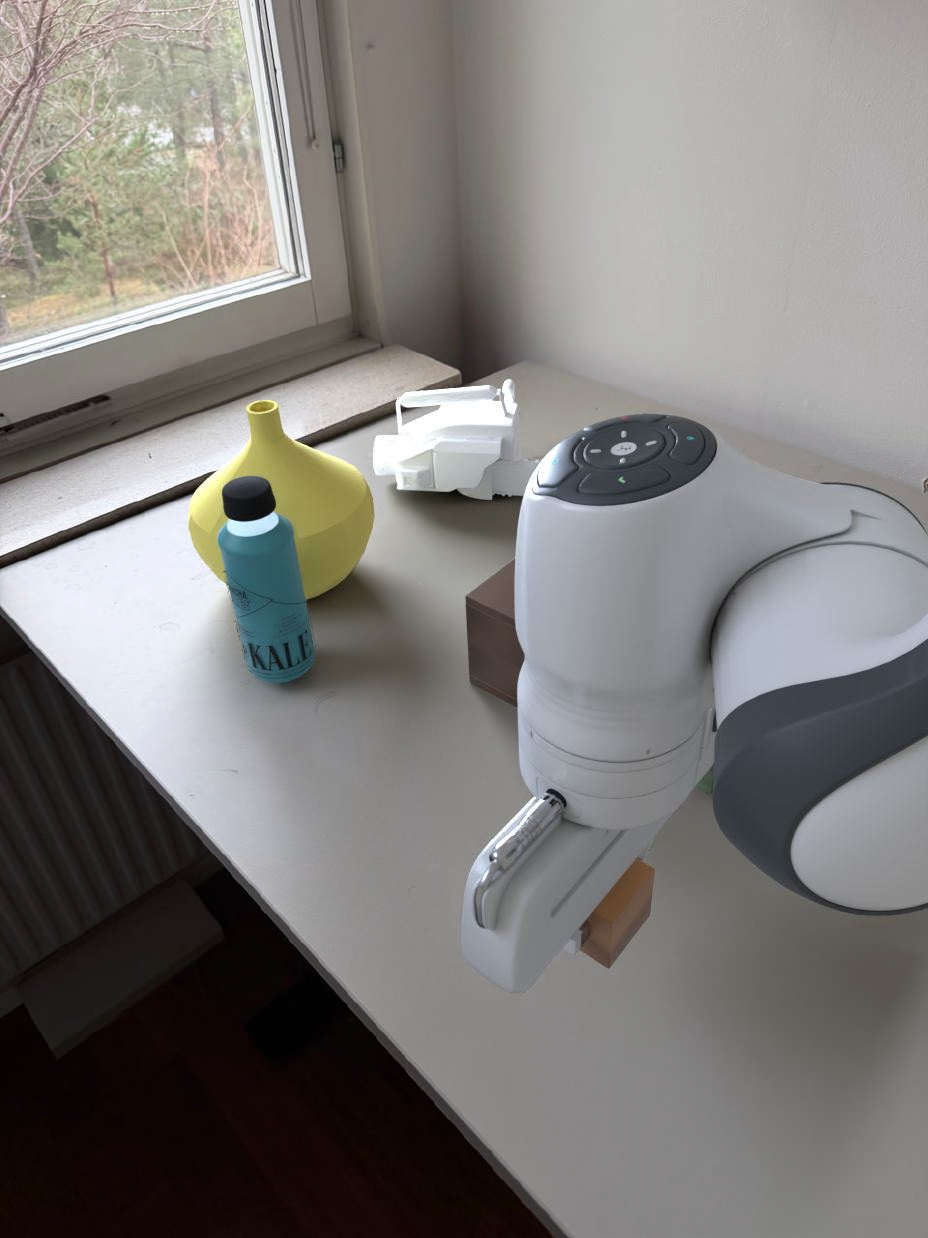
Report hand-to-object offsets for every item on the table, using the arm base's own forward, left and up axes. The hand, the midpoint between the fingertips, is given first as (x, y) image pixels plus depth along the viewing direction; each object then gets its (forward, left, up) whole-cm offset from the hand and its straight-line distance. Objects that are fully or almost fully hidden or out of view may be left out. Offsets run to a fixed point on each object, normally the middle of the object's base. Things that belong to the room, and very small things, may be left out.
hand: (599, 904), depth 54 cm
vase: (+54, -3, -10) cm, 55 cm away
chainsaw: (+56, -34, -10) cm, 66 cm away
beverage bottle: (+40, +4, -10) cm, 42 cm away
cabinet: (+24, -18, -10) cm, 32 cm away
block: (0, 0, -2) cm, 2 cm away
